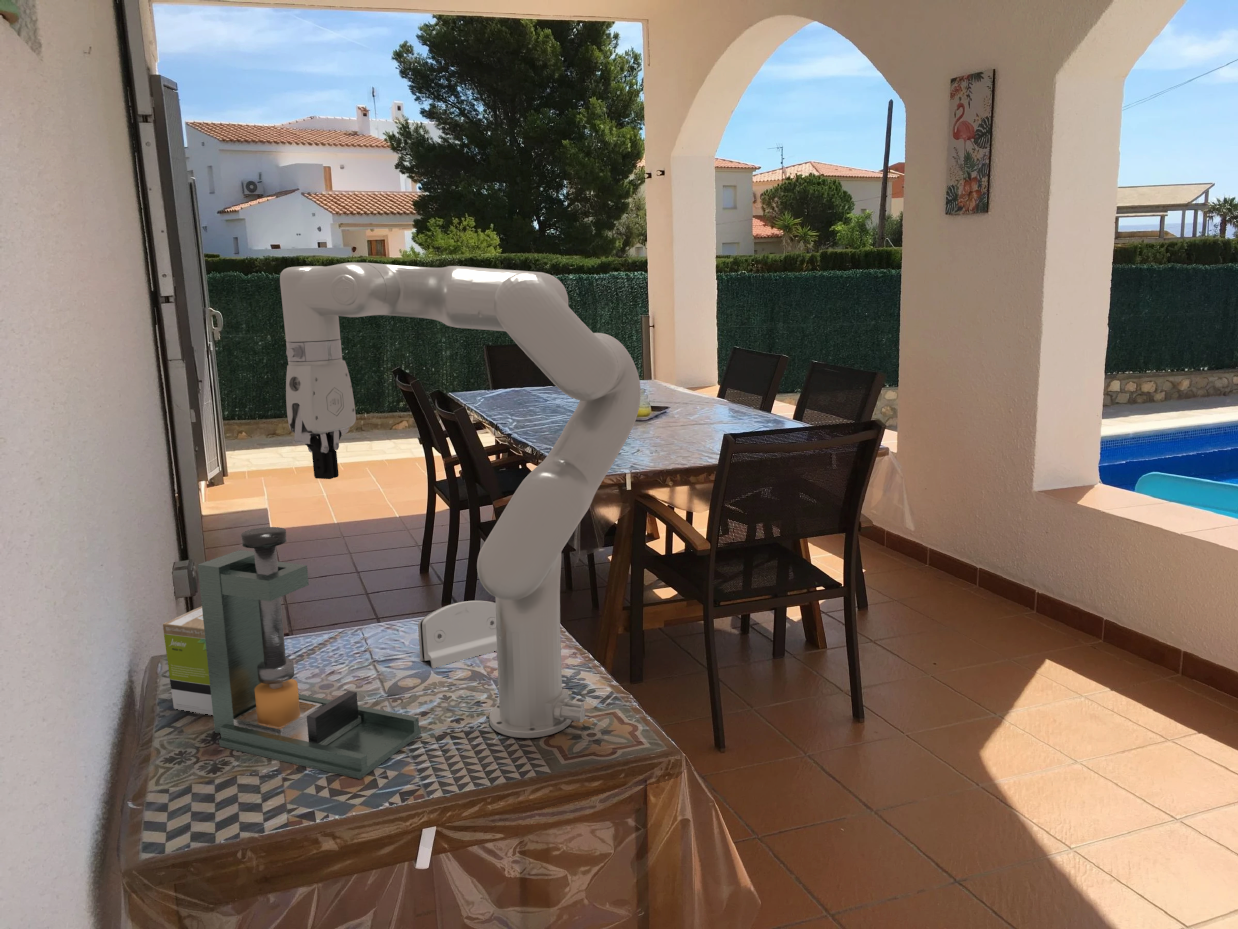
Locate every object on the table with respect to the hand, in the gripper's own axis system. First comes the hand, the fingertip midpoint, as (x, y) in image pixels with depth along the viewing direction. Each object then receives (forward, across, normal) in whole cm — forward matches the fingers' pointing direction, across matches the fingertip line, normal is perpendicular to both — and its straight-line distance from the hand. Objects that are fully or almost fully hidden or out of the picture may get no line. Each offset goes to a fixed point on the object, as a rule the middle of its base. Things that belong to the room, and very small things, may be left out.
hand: (326, 477), depth 141 cm
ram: (+28, -9, +5) cm, 30 cm away
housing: (+35, -9, +6) cm, 36 cm away
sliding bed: (+36, -9, +2) cm, 37 cm away
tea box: (+37, -2, +22) cm, 43 cm away
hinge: (+38, +28, -4) cm, 47 cm away
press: (+37, -9, 0) cm, 38 cm away
